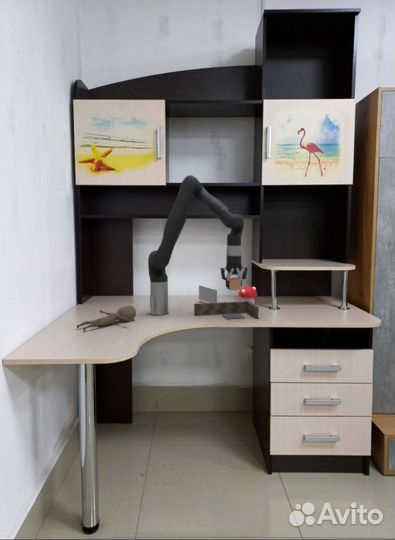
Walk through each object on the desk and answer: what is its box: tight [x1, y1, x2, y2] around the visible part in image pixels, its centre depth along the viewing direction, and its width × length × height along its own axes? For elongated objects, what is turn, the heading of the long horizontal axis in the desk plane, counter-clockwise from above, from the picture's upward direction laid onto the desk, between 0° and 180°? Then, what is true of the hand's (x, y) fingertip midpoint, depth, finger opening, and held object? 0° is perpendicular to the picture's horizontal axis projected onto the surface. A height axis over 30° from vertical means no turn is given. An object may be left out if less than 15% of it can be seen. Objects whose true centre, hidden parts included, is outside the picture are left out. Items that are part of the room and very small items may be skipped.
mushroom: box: [237, 285, 258, 304], centre depth 236 cm, size 11×11×12 cm
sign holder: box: [197, 284, 218, 303], centre depth 244 cm, size 21×2×10 cm, turn 29°
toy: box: [76, 305, 137, 332], centre depth 200 cm, size 26×8×30 cm
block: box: [226, 277, 242, 291], centre depth 212 cm, size 6×6×6 cm
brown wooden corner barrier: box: [193, 300, 260, 320], centre depth 214 cm, size 30×15×6 cm, turn 102°
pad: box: [222, 313, 246, 320], centre depth 214 cm, size 9×9×1 cm
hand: (233, 287), depth 213 cm, fingers closed on block, 5 cm apart
